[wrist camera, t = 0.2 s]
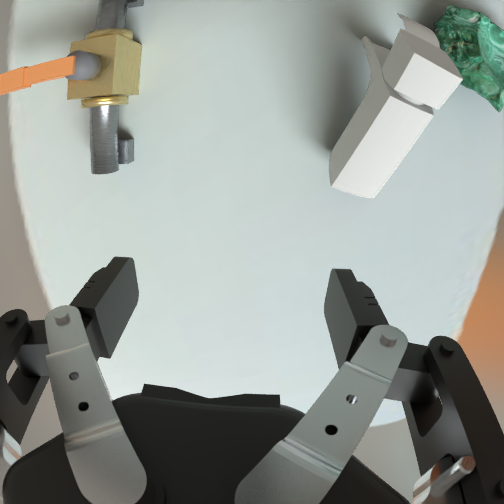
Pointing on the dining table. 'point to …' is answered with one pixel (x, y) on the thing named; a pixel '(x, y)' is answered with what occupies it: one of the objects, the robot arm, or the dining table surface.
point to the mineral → (474, 51)
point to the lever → (52, 71)
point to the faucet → (392, 109)
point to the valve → (109, 84)
